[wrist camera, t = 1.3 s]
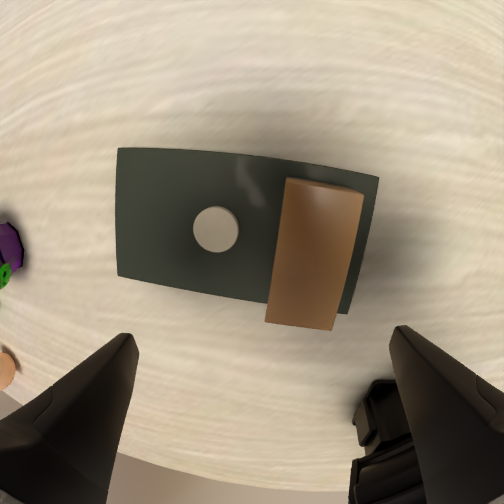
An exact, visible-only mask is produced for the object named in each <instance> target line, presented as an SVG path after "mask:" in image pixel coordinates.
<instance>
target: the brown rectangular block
mask: <svg viewBox="0 0 504 504" xmlns="http://www.w3.org/2000/svg"><path fill="white" fill-rule="evenodd" d="M363 199H364V195H363V194H361V193H360V192H358V191H356V190H354V189H351V188H349V187H347V186H343V185H337V184H332V183H326V182H321V181H315V180H309V179H302V178H296V177H289V176H287V177H286V180H285V188H284V195H283V202H282V209H281V216H280V223H279V230H278V236H277V243H276V250H275V256H274V263H273V269H272V276H271V282H270V288H269V295H268V302H267V309H266V316H265V322H268V323H275V324H282V325H289V326H296V327H304V328H312V329H320V330H329V331H331V330H332V327H333V324H334V321H335V317H336V314H337V310H338V307H339V303H340V300H341V296H342V292H343V289H344V285H345V281H346V277H347V273H348V269H349V265H350V261H351V257H352V252H353V248H354V243H355V239H356V234H357V230H358V225H359V220H360V215H361V210H362V204H363Z"/></svg>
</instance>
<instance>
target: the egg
mask: <svg viewBox="0 0 504 504" xmlns="http://www.w3.org/2000/svg"><path fill="white" fill-rule="evenodd" d="M14 375H15V363H14V360H13V359H12V357H11V356H10V355H8V354H6V353H0V391H1V390H3V389H5V388H6V387H7V386H8V385H9V384H10V383H11V382H12V380H13V379H14Z"/></svg>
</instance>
